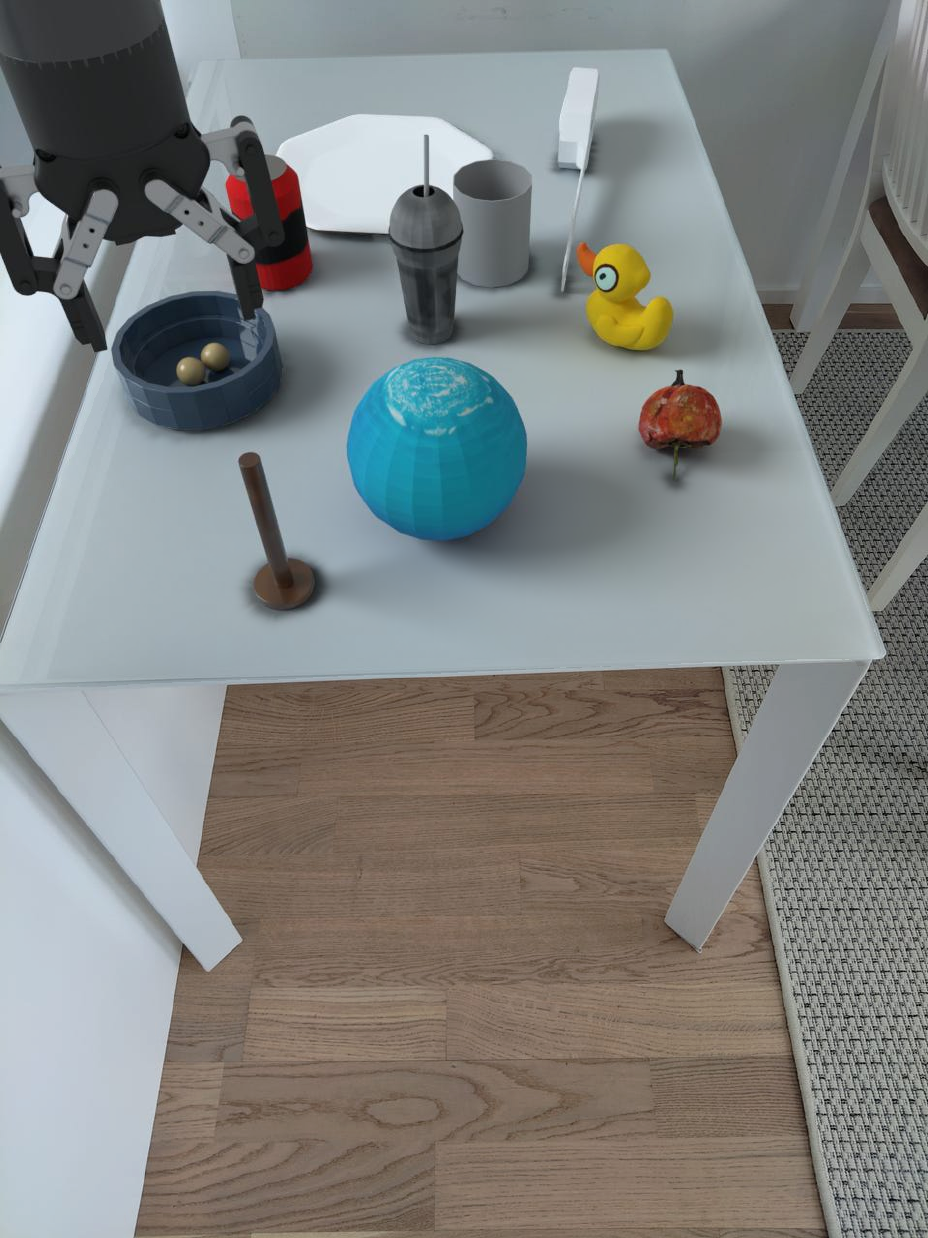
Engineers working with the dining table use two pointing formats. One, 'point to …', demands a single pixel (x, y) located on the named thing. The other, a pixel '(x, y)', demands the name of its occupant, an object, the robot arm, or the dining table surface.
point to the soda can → (293, 255)
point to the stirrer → (273, 545)
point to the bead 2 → (215, 357)
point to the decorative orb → (437, 448)
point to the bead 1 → (191, 371)
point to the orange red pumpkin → (680, 418)
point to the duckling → (623, 298)
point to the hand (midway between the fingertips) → (175, 327)
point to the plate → (373, 167)
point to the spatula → (577, 133)
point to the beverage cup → (427, 256)
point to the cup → (493, 221)
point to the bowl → (183, 331)
